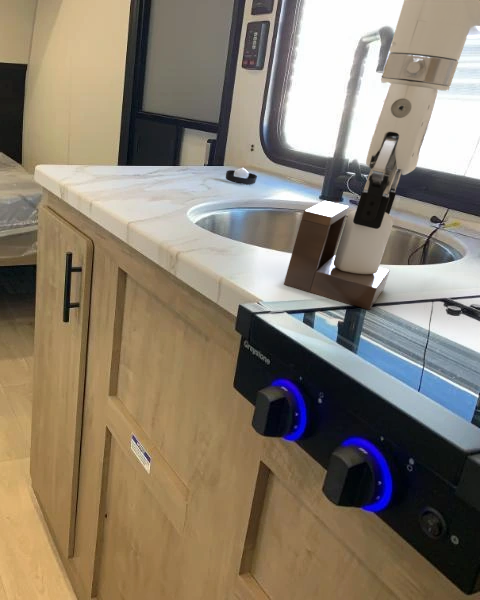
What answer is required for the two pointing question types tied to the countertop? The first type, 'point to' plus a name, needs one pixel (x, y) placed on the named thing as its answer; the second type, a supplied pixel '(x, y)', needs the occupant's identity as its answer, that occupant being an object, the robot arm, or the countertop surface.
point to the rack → (329, 260)
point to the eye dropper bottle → (362, 246)
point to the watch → (241, 176)
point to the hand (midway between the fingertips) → (370, 221)
